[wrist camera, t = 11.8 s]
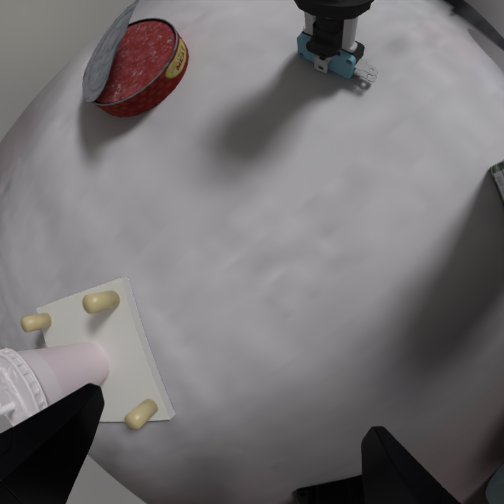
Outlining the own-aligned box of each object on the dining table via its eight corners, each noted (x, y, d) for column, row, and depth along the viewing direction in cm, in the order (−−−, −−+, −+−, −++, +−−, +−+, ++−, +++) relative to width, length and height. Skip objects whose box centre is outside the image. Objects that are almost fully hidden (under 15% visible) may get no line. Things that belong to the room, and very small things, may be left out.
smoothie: (81, 394, 23) (-30, 451, 9) (60, 330, 23) (-65, 361, 9) (132, 395, 22) (10, 477, 8) (109, 321, 22) (-40, 364, 8)
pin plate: (175, 414, 22) (154, 437, 18) (81, 417, 24) (57, 432, 20) (128, 276, 23) (97, 280, 19) (42, 307, 25) (14, 312, 21)
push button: (385, 63, 19) (412, -22, 9) (358, 106, 20) (382, 17, 10) (315, 30, 20) (310, -58, 10) (283, 68, 21) (264, -24, 11)
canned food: (168, 133, 28) (87, 148, 19) (114, 87, 28) (39, 93, 20) (228, 36, 21) (151, 8, 13) (160, 0, 21) (84, -19, 13)
